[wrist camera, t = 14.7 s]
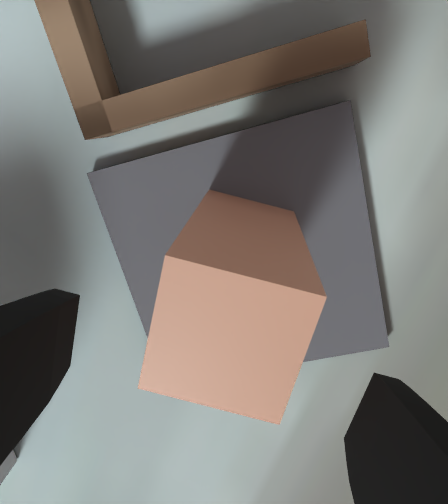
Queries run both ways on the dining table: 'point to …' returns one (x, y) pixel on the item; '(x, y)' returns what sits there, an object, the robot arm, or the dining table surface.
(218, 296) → the block
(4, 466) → the coffee box
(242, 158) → the mat
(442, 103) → the dining table surface
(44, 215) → the dining table surface
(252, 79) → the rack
